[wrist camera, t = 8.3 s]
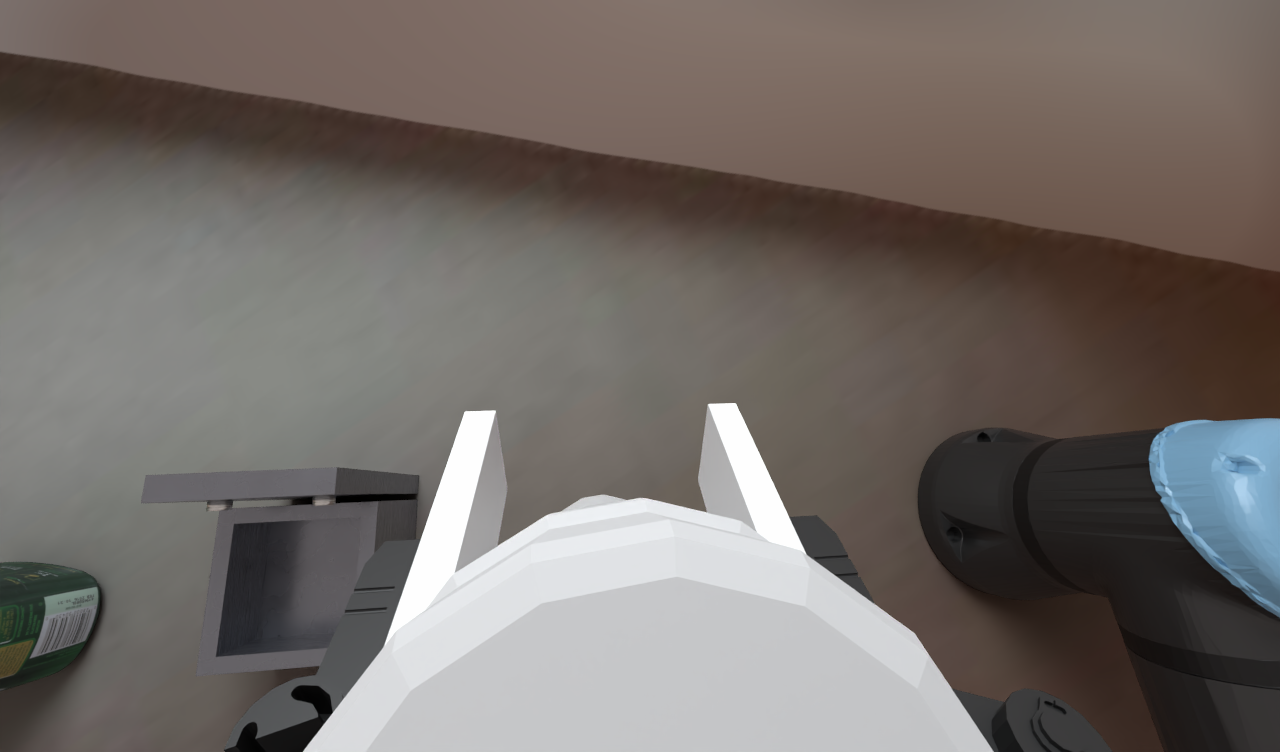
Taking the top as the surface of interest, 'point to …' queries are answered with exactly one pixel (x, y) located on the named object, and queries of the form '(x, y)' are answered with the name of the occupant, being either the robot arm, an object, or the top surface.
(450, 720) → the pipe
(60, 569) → the coffee jar
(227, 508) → the grey open box
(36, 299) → the top surface
